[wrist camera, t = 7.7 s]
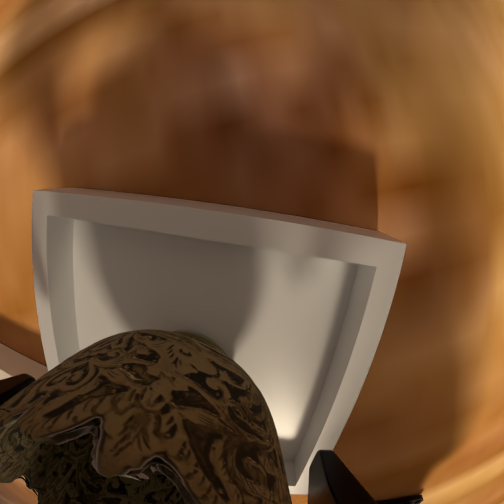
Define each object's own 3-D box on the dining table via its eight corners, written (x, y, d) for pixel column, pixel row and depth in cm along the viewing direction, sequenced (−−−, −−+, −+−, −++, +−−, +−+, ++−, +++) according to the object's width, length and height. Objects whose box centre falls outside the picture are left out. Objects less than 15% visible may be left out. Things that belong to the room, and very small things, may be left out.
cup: (85, 279, 10) (-73, 386, 3) (277, 260, 10) (300, 484, 2) (136, 423, 12) (73, 552, 4) (292, 425, 11) (300, 591, 4)
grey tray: (378, 231, 10) (406, 243, 8) (304, 458, 13) (307, 494, 10) (72, 187, 11) (33, 190, 8) (88, 412, 13) (68, 439, 11)
